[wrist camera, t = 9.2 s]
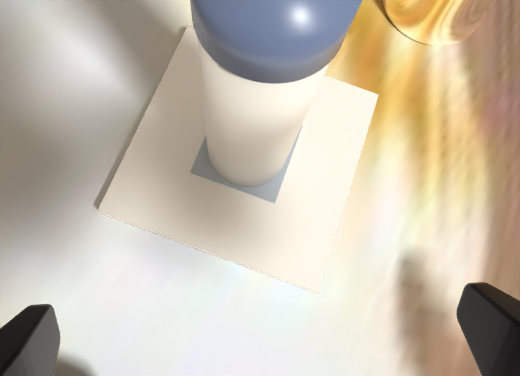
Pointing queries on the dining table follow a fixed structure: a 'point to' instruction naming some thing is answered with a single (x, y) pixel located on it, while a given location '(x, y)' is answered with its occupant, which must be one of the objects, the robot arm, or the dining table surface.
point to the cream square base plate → (239, 197)
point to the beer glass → (437, 19)
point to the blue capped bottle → (262, 76)
